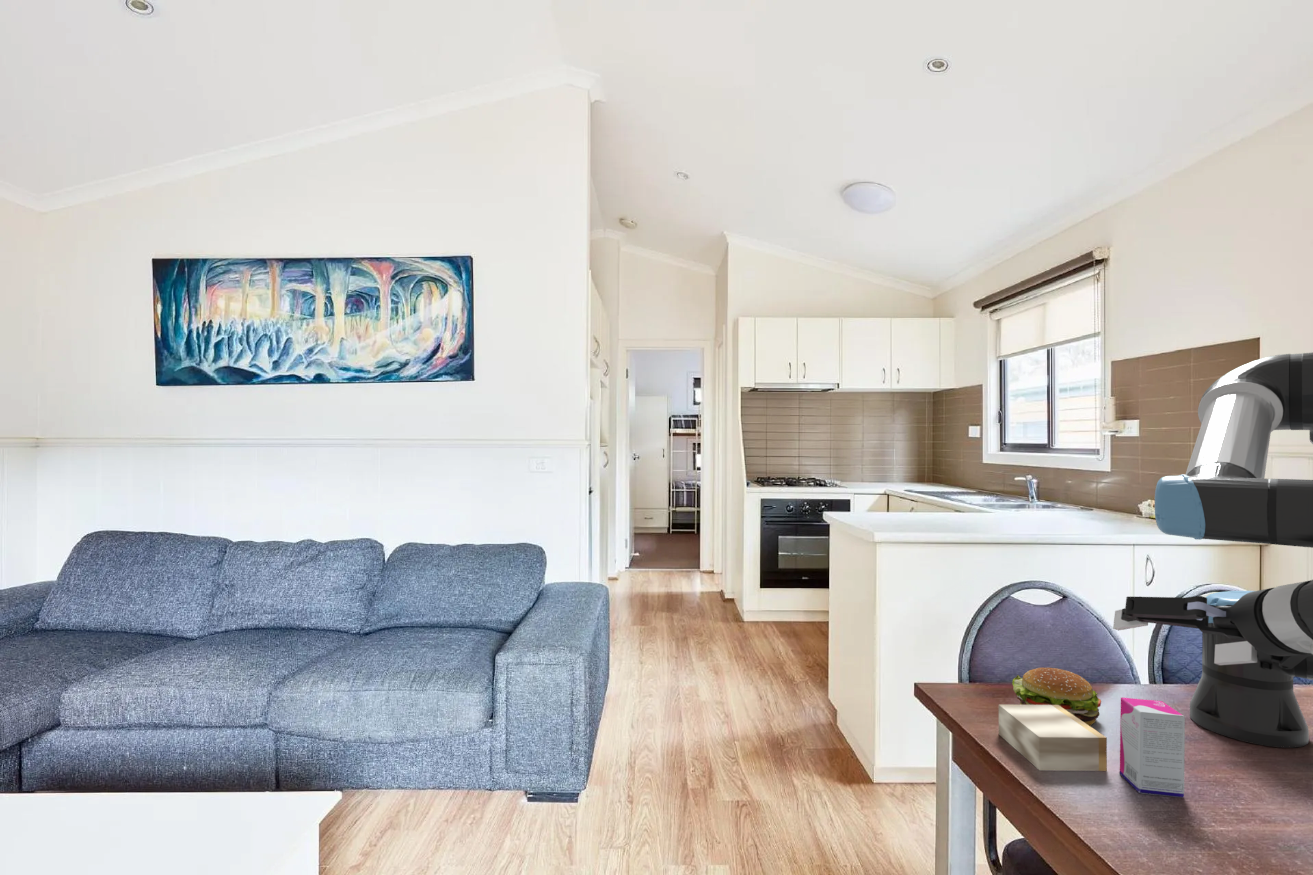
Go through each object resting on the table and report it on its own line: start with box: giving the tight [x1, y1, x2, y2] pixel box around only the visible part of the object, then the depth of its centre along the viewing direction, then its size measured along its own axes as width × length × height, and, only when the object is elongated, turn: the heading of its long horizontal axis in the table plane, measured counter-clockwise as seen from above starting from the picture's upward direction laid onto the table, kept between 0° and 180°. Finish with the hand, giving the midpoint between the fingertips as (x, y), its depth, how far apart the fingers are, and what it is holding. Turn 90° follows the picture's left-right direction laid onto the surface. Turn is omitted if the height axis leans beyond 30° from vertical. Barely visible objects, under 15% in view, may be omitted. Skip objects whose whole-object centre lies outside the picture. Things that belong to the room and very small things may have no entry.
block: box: [998, 704, 1108, 772], centre depth 103 cm, size 12×10×5 cm
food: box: [1011, 667, 1102, 727], centre depth 117 cm, size 14×14×8 cm
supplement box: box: [1119, 697, 1186, 798], centre depth 93 cm, size 6×6×12 cm
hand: (1166, 637), depth 93 cm, fingers open, 13 cm apart
